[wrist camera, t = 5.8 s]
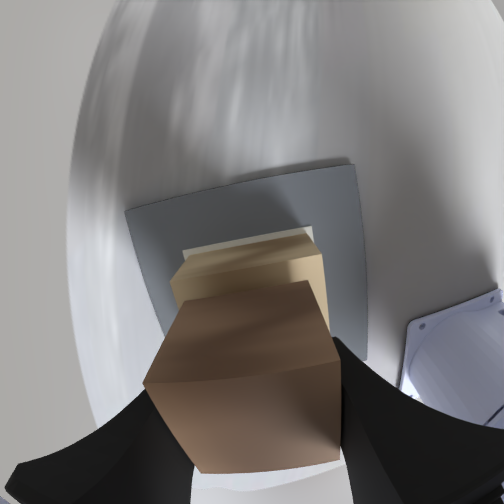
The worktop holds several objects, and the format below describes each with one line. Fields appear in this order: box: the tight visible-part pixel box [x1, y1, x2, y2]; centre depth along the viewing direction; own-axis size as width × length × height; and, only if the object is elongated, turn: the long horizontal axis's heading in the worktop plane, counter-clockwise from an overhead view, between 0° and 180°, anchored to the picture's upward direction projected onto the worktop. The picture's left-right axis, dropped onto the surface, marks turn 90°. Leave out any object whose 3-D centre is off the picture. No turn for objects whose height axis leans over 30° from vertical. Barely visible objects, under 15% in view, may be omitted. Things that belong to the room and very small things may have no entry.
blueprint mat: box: [125, 164, 368, 361], centre depth 15 cm, size 12×12×1 cm
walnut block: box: [142, 280, 341, 474], centre depth 8 cm, size 4×4×4 cm
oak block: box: [170, 233, 330, 332], centre depth 13 cm, size 6×6×4 cm
